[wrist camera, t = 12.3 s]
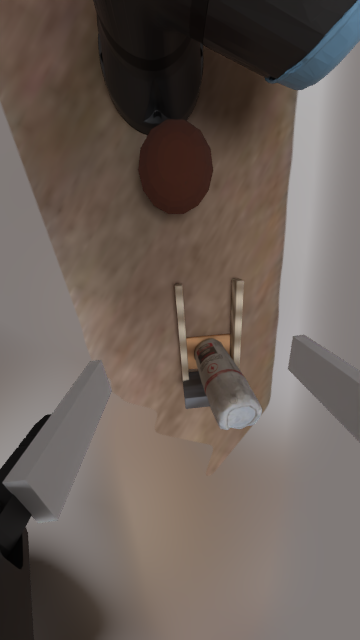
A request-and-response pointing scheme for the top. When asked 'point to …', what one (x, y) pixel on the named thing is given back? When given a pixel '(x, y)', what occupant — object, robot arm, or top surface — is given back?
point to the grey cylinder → (225, 387)
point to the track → (229, 341)
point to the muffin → (175, 166)
